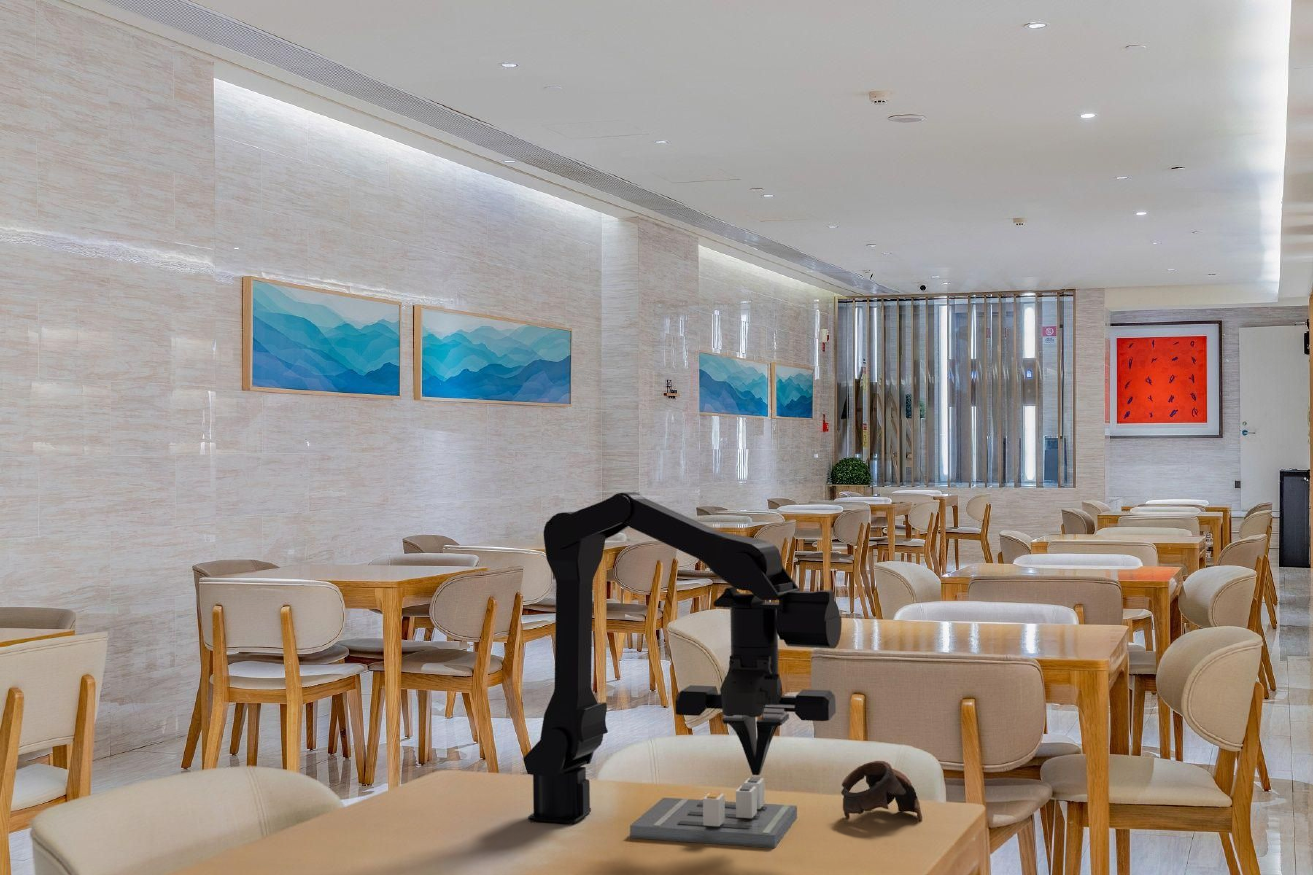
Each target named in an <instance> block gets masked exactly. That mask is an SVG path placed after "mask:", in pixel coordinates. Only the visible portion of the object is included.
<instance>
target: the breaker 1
mask: <svg viewBox="0 0 1313 875" xmlns="http://www.w3.org/2000/svg"><path fill="white" fill-rule="evenodd" d="M725 797H726V796H725V793H721V792H712V791H711V792H708V794H706V795H705V796H704V797H703V798H702V800H703V825H706V826H720V825H721V824H722V823H723V822H724V821H725V800H726V798H725Z"/></svg>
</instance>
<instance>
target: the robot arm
mask: <svg viewBox="0 0 1313 875" xmlns="http://www.w3.org/2000/svg"><path fill="white" fill-rule="evenodd" d="M627 528H631V529H633V530H635V531H637V532H639V533H640V534H641V533H642V534H644V535H646V536H648V537H650V538H652V539H655V540H657V541H659V542H661V543H663V544H665V545H667V546H670V547H672V548H674V549H677V550H678V551H680V552H683V553H685V554H687V555H690V556H691V557H694V558H696V559H697V560H699V561H701V563H703V564H704V565H705V566H706V567H707V568H708V569H709V570H710V571H711V572H712V573H713V575H716V576H717V577H719V579H720V580H723V581H724V582H725V583H727V584H728V585H730V586H729V587H726V588H725V589H724V590H723V593H721V595H720V596H719V597H718V598H716V599H715V600H714V601H713V603H712V604H713V606H714V607H715V608H729V615H730V618H729V619H730V655H729V661H728V670H727V672H726V673H727V674H726V675H725V677H724V680H723V682H722V684H721V686H720V688H719V689H720V690H719V692H718V688H717V686H716V685H694V684H693V685H692V684H691V685H689V686H686V687H685V688H683V689H681V690H680V691H679V692H678V693H677V694H676V696H675V715H677V716H691V717H693V716H694V717H696V716H697V717H700V716H701V715H702V714H703V713H704V712H706V710H707V709H714V710H717V709H718V710H722V715H723V717H722V718H721V722H722V724H724V725H729V726H730V727H731V728H732V730H733V732H735V734H736V736H737V738H738V739H739V742H740V744H741V747H742V748H743V752H744V755H745V759H746V760H747V763H748V767H749V769H750V772H751V774H752V776H760V775H761V773H762V770H763V768H764V763H765V762H766V761H765V760H766V758H767V755H768V752H769V749H770V746H771V743H772V741H773V738H774V735H775V734H776V731H777V729H778V727H781V726H782V725H784V724H785V723H786V722H787V721H788V720H790V714H789V713H794V714H795V715H796V716H797V717H798V718H799V720H801V721H810V722H811V721H812V722H828V721H830V720H831V718H832V717H833V716H834V715H836V697H835V696H836V695H835V694H834V692H832V691H831V690H829V689H801V690H800V691H799V693H797V694H796V695H794V696H793V695H783V686H782V685H783V684H782V680H781V676H780V674H779V659H780V657H779V656H780V652H779V640H780V641H784V643H785V645H786V646H787V647H790V648H791V647H792V648H793V647H794V648H809V649H810V648H813V649H831V650H834V649H836V648H837V647H838V645H839V643H840V638H841V634H842V626H843V625H842V624H843V622H842V620H843V619H842V616H841V615H840V610H839V607H838V604H837V601H836V600H835V591H834V590H832V589H830V590H829V589H828V590H827V589H824V590H818V591H817V590H816V591H814V590H813V591H811V590H807V591H805V590H801V589H800V588H799V587H798V585H797V584H796V582H795V581H794V579H793V577H791V575H790V573H789V572H788V570H786V568H785V567H784V566H783V558H782V555H781V553H780V550H779V548H778V547H777V546H776V545H775V544H773V543H772V542H770V541H768V540H767V541H766V540H763V539H758V538H754V537H750V536H747V535H740V534H735V533H728V532H726V531H725V532H724V531H720V530H717V529H715V528H712V527H710V526H708V525H707V524H704V523H702V522H700V521H697V520H695V519H693V518H690V517H688V516H686V515H684V514H681V513H679V512H677V511H675V510H673V509H670V508H668V507H666V506H663V505H661V504H659V503H657V502H655V501H652V500H650V499H647V498H646V497H645V496H643V495H642V494H641V493H639V492H634V491H633V492H632V491H631V492H629V491H627V492H618V493H615V494H614V495H612V496H610V497H609V498H607V499H605V500H602V501H600V502H597V503H594V504H592V505H589V506H587V507H584V508H580V509H579V510H577V511H564V512H558V513H556V514H553V516H551V518H549V519H548V521H546V523H545V524H544V528H543V533H542V534H543V544H544V550H545V557H546V561H547V563H548V566H549V568H550V570H551V573H552V574H553V576H554V580H555V620H554V621H555V622H554V624H555V629H554V630H555V631H554V689H553V693H552V694H551V695H552V696H551V698H550V699H549V702H548V704H547V707H546V708H545V711H544V714H543V719H542V725H541V731H540V738H539V740H538V742H537V743H536V744H535V745H534V746H533V747H532V748H531V749H530V750H529V751H528V752H527V753H526V754H525V756H524V757H523V758H522V759H523V764H524V766H525V769H526V774H528V775H532V788H533V789H532V791H533V792H532V794H533V795H532V798H533V800H532V802H533V803H532V804H533V806H532V807H533V808H532V809H533V810H532V811H533V812H532V813H531V814H530V815H528V817H527V818H528V819H527V820H528V821H531V822H535V821H536V822H545V823H546V822H548V823H558V824H559V823H561V824H564V823H565V824H575V823H576V824H577V822H579V821H580V820H581V819H583V818H584V817H585V816H587V815H588V814H590V813H591V811H592V808H591V803H590V802H591V799H590V798H591V795H590V794H591V793H590V790H591V789H590V786H591V785H590V779H587V776H586V775H587V772H586V769H587V768H586V767H585V765H589V764H591V763H592V758H593V756H594V752H595V751H596V750H597V749H598V748H599V747H600V746H601V745H602V743H603V740H604V735H605V734H607V733H608V732H609V731H608V727H607V723H606V717H607V710H608V704H607V702H604V701H603V702H598V700H597V699H596V697H595V695H594V692H593V689H592V658H593V657H592V655H593V654H592V652H593V650H592V649H593V648H592V647H593V644H592V643H593V585H594V584H593V583H594V578H595V576H596V573H597V571H598V568H599V566H600V564H601V562H602V560H603V556H604V550H605V545H606V544H605V542H606V540H608V539H609V538H612V537H614V536H617V535H619V534H620V533H621V532H623V531H624V530H625V529H627ZM738 590H739V591H738ZM740 591H749V592H750V593H747V592H746V593H744V592H743V593H742V592H740ZM758 717H760V718H759V719H757V720H756V718H758Z"/></svg>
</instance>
